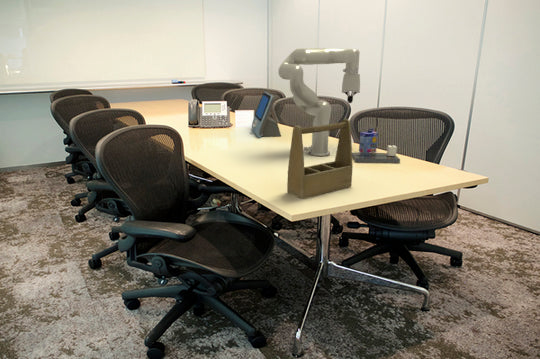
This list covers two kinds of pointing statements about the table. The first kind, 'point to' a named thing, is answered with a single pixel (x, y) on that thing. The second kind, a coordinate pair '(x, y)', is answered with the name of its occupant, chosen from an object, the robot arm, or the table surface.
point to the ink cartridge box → (368, 141)
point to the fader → (391, 150)
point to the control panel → (374, 158)
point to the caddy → (322, 175)
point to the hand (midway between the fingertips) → (349, 102)
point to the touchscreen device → (265, 118)
